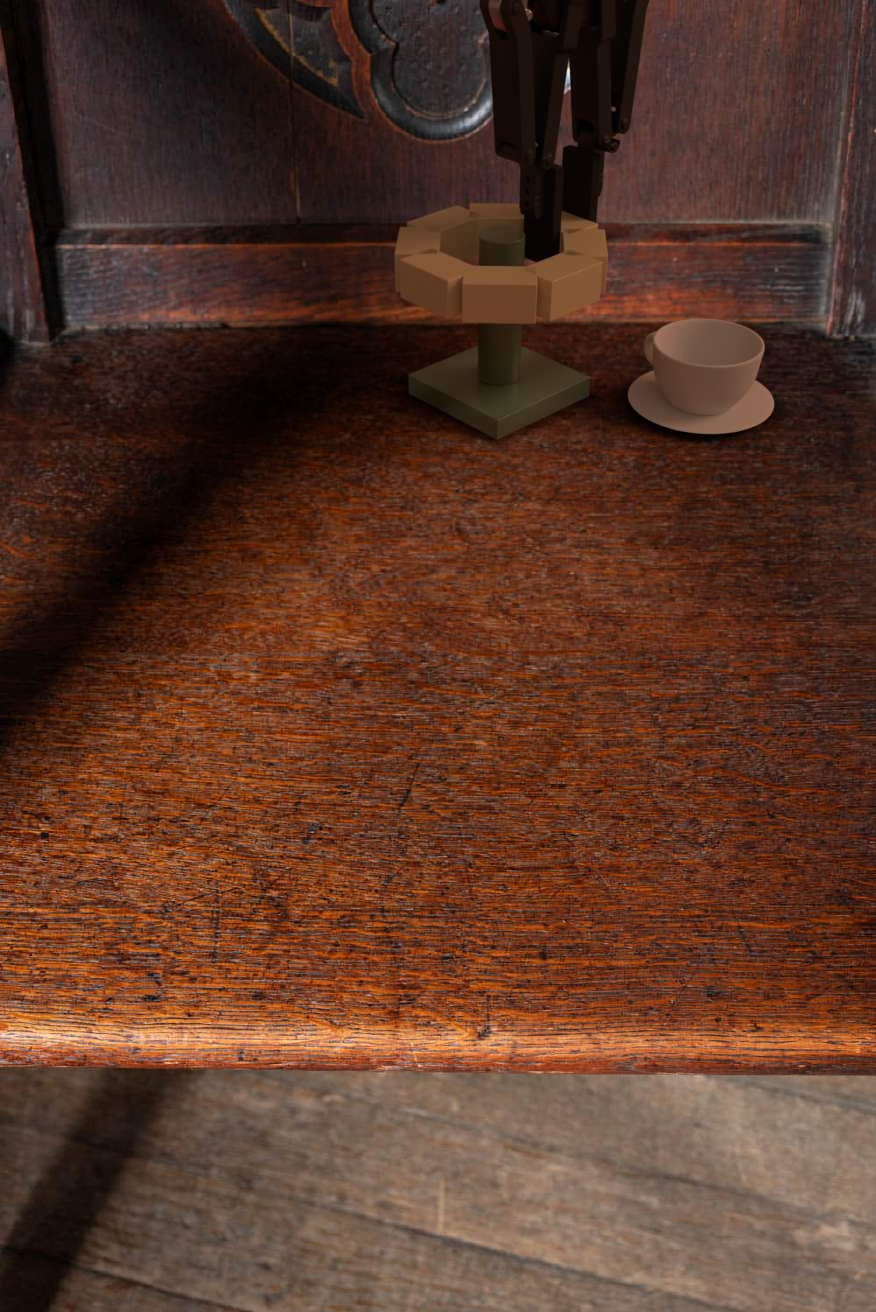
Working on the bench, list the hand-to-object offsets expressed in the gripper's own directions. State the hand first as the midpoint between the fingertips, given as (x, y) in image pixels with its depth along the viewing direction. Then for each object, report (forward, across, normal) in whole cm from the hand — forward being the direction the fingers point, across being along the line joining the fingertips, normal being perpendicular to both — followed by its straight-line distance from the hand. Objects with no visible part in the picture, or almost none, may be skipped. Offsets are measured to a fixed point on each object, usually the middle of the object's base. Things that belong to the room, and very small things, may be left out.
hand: (558, 253), depth 86 cm
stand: (+9, -5, 0) cm, 10 cm away
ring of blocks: (0, -5, 0) cm, 5 cm away
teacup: (+9, +4, -10) cm, 14 cm away
